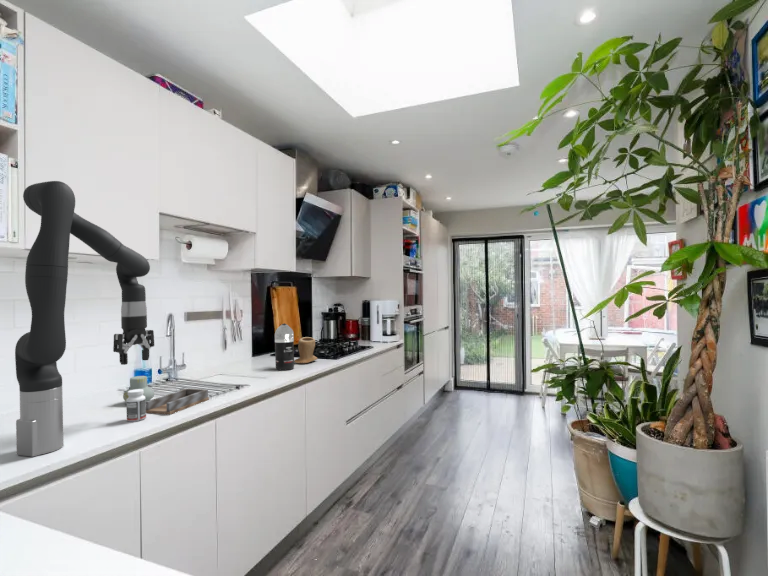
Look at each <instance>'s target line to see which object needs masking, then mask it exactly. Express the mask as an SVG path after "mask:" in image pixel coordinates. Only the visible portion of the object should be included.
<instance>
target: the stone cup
mask: <svg viewBox="0 0 768 576" xmlns="http://www.w3.org/2000/svg"><path fill="white" fill-rule="evenodd" d="M297 347H298V353H299V357H298V358H296V359H294V363H296V364H309V363H311V362H313V361H316V360H318V359H319V358H318V357H317V356H315V355H314V351H315V349H316V339H315V338H314V337H309V336H305V337H304V336H303V337H301V338H299V340H298V346H297Z"/></svg>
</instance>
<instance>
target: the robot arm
mask: <svg viewBox="0 0 768 576" xmlns="http://www.w3.org/2000/svg"><path fill="white" fill-rule="evenodd" d="M22 197H23V202H24V203H25V205H26V206H27V208H28V210H30V211H32V212H34V213H35V214H37V215H39V216H40V227H39V232H38V234H37V236H36V238H35V240H34V242H33V244H32V245H31V247H30V250H29V252H28V254H27V257H26V261H25V273H24V275H25V276H24V281H25V282H24V283H25V289H26V294H27V299H28V302H29V305H30V310H31V311H30V312H31V322H30V330H29V332H26V333H24V334H23V335H21V336H20V337H19V338H18V340H17V342H16V343H15V347H14V348H15V349H14V356H15V357H14V361H15V375H16V380H17V382H18V386H19V389H18V390H19V418H18V419H16V421H15V429H16V431H15V432H16V436H15V437H16V455H17V456H24V457H32V458H33V457H36V456H39V455H44V454H49V453H52V452H55V451H57V450H60V449H62V448H63V447H64V443H65V441H64V408H63V407H64V406H63V377H62V375H61V374H60V372H59V370H58V366H57V365H58V363H57V362H58V361H60V359H62V357H63V355H64V354H65V352H66V349H67V340H66V339H67V338H66V337H67V336H66V326H65V325H66V324H65V308H66V300H67V299H66V298H67V284H68V278H69V277H68V275H69V273H68V272H69V252H70V251H69V250H70V237H71V235H72V236H73V237H76V238H77V239H78V240H79V241H81V242H83V244H86V245H87V246H88V247H89V248H91V250H93V251H95V252H96V253H97V254H98V255H99V256H101V257H102V258H103V259H104V260H106V261H109V262H110V263H116V266H115V272H116V277H117V280H118V283H119V286H120V288H121V289H120V290H121V305H120V306H121V309H120V316H121V317H120V321H121V327H120V328H121V329H122V333H114V334H113V347H112V349H113V350H112V351H113V352H114V353H118V354H119V363H120V365H128V362H129V361H128V360H129V359H128V358H129V357H128V352H129V350H130V349H131V348H132V346H136V345H139V346H140V347H141V348H142V350H141V360H142V361H149V360H150V349H151V348H153V347H155V334H154V333H155V332H154V330H153V329H146V328H147V327H148V314H147V313H148V312H147V308H148V307H147V303H146V300H147V298H146V288H145V286H144V285H143V284H140V283H139V282H138V281H139V280H138V278H141V277H145V276H147V275H148V274H149V272H150V270H151V265H150V263H149V261H148V259H147V258H146V257H145V256H143V255H142V254H141V253H139V252H137V251H135V250H133V249H132V248H130V247H128V246H126V245H124V244H123V243H122V242H121V241H120V240H119V239H117V238H116V237H115V236H114V235H113V234H111V233H110V232H109V231H107V230H106V229H104V228H102V227H101V226H100V225H99V226H98V225H96V224H94V223H93V222H92V221H89V220H87V219H86V218H83V217H82V216H80V215H79V214H77V213H76V212H75V208H76V195H75V193H74V191H73V190H72V188H71V187H70V186H69V184H66V183H65V182H63V181H60V180H50V181H43V182H36V183H33V184H30V185H28V186H27V187H26V188H25V189H24V191H23V194H22Z"/></svg>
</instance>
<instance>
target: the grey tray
mask: <svg viewBox="0 0 768 576" xmlns="http://www.w3.org/2000/svg"><path fill="white" fill-rule="evenodd" d="M206 401H210V398H209V389H203V388H202V389H201V388H184V389H181V390H178V391H175V392H171V393H169V394H166V395H162V396H159V397H156V398H152V399H151V400H149V401H147V402H146V414H156V415H167V414H171V415H173V414H176V413H179V412H181V411H184V410H186V409H189V408H191V407H193V406H197V405H199V404H202V403H204V402H206ZM201 402H202V403H201ZM196 404H197V405H196ZM178 411H179V412H178ZM175 412H176V413H175Z"/></svg>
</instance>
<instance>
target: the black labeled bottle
mask: <svg viewBox="0 0 768 576" xmlns="http://www.w3.org/2000/svg"><path fill="white" fill-rule="evenodd" d="M294 334H295V333H294V330H293V329H292V327H290V326H289V325H288V324H287V323H282V324H280V326H278V327H277V328H276V330H275V333H274V351H275V352H274V353H275V355H274V358H275V360H274V363H275V370H277V371H289V370H290V371H291V370H293V369H294V368H295V362H294V360H295V347H294V345H295V344H294V342H295V339H294V337H295V335H294Z"/></svg>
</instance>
